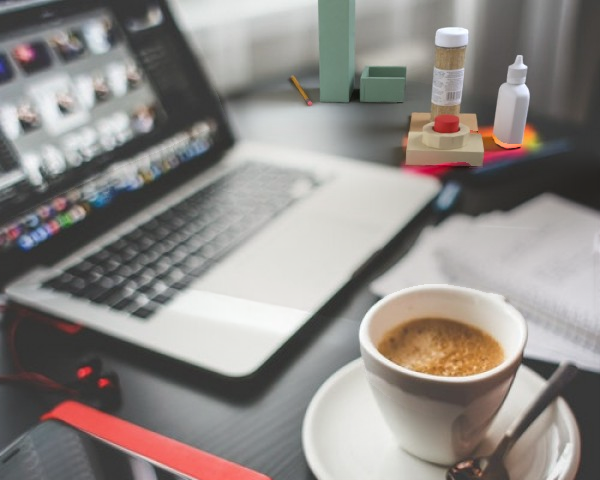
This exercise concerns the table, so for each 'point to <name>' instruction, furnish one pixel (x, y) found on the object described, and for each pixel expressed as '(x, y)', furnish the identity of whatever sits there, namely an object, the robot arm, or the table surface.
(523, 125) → the eye dropper bottle
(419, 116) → the cork mat
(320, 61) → the dock machine
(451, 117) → the button
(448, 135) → the button box
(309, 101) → the pencil
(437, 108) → the sprinkles bottle
